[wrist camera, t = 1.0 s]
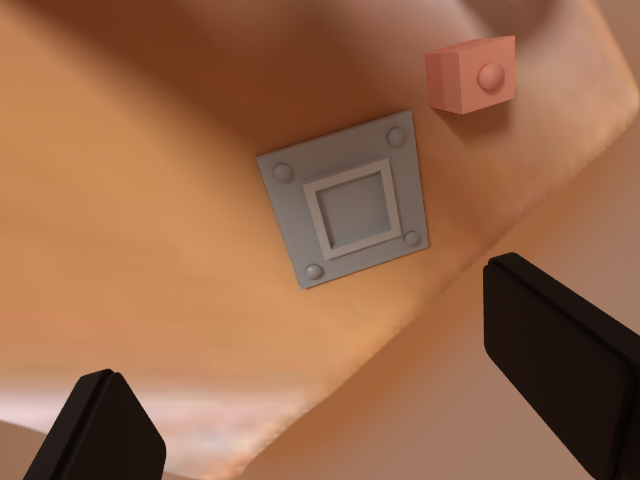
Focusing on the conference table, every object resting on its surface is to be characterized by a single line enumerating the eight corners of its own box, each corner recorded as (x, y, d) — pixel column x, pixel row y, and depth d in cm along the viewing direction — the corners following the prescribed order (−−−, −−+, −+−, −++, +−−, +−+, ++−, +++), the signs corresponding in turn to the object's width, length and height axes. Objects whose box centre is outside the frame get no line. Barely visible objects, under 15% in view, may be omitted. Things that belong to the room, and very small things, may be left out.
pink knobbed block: (424, 54, 35) (464, 52, 29) (472, 39, 35) (521, 34, 29) (430, 107, 37) (467, 115, 31) (475, 93, 37) (520, 98, 31)
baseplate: (255, 156, 36) (256, 162, 34) (407, 109, 37) (416, 112, 35) (299, 285, 43) (302, 295, 41) (425, 243, 44) (433, 251, 42)
